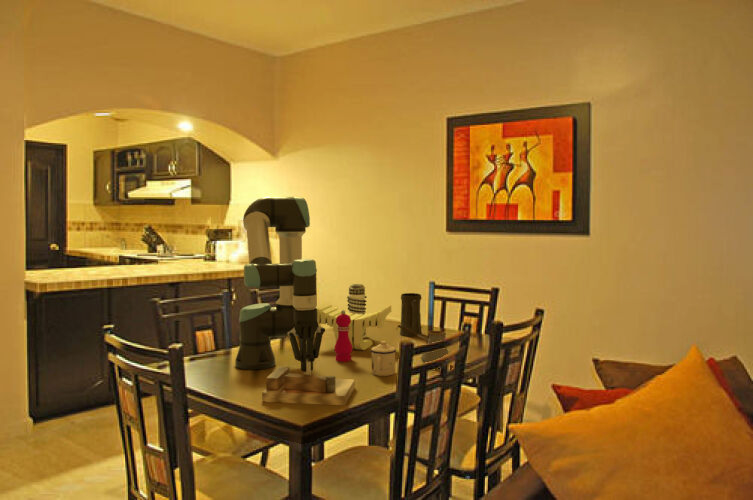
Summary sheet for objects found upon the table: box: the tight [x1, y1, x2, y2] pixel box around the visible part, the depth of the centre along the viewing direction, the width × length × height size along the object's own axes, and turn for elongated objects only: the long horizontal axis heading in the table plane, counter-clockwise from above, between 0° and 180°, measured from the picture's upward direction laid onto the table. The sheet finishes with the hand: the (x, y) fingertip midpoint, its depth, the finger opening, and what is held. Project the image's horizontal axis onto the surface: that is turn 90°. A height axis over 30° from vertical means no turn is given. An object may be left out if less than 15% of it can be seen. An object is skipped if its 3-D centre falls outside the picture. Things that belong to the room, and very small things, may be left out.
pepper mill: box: [334, 309, 353, 363], centre depth 237 cm, size 7×7×20 cm
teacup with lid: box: [370, 340, 397, 377], centre depth 216 cm, size 12×9×12 cm
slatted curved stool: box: [316, 302, 392, 351], centre depth 260 cm, size 30×16×18 cm, turn 74°
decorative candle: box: [346, 283, 368, 339], centre depth 281 cm, size 9×9×25 cm
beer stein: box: [399, 292, 423, 337], centre depth 285 cm, size 15×11×20 cm
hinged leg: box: [284, 372, 336, 393], centre depth 186 cm, size 16×4×4 cm, turn 72°
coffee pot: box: [396, 324, 450, 364], centre depth 230 cm, size 21×12×15 cm, turn 75°
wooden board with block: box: [261, 366, 356, 406], centre depth 191 cm, size 26×18×7 cm
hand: (307, 381), depth 190 cm, fingers closed
